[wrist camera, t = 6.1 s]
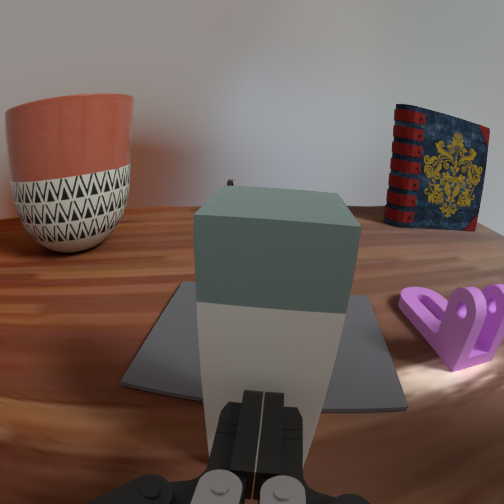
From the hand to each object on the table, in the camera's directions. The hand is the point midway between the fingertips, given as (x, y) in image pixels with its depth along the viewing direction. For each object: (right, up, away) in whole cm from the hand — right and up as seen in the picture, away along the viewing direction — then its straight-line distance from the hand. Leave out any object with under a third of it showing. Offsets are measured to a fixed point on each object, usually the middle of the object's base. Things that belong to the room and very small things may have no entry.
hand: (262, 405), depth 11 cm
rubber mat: (+1, -1, +15) cm, 15 cm away
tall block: (0, -5, +6) cm, 8 cm away
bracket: (+18, -2, +17) cm, 25 cm away
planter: (-27, +6, +33) cm, 43 cm away
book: (+39, +12, +53) cm, 67 cm away
